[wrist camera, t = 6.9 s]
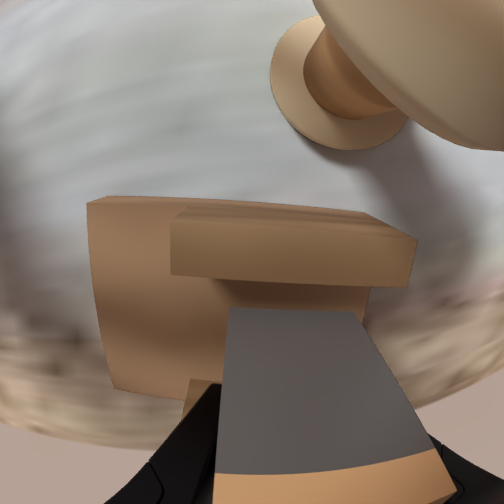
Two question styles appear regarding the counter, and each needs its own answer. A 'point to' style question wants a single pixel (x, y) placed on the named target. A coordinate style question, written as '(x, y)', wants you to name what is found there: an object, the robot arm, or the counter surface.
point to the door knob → (394, 72)
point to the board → (222, 278)
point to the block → (317, 417)
